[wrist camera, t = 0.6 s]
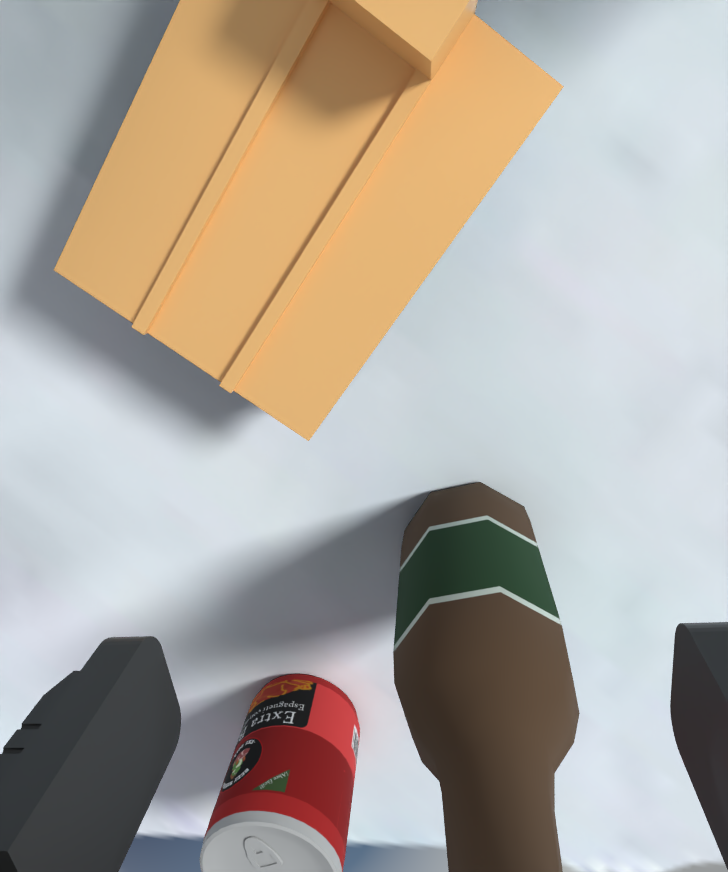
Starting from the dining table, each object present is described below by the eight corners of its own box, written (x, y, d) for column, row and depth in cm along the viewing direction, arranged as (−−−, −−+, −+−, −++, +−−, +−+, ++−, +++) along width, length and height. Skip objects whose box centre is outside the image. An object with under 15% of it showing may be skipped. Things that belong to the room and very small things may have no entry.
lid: (273, -128, 23) (218, -240, 17) (551, 96, 25) (589, 66, 19) (83, 263, 29) (-8, 283, 23) (317, 422, 31) (290, 478, 25)
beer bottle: (548, 487, 36) (744, 980, 14) (520, 600, 39) (642, 1158, 16) (412, 467, 36) (385, 914, 14) (394, 580, 39) (347, 1100, 17)
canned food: (306, 651, 42) (267, 801, 32) (385, 726, 43) (372, 891, 33) (228, 704, 44) (167, 859, 34) (305, 773, 46) (270, 941, 36)
